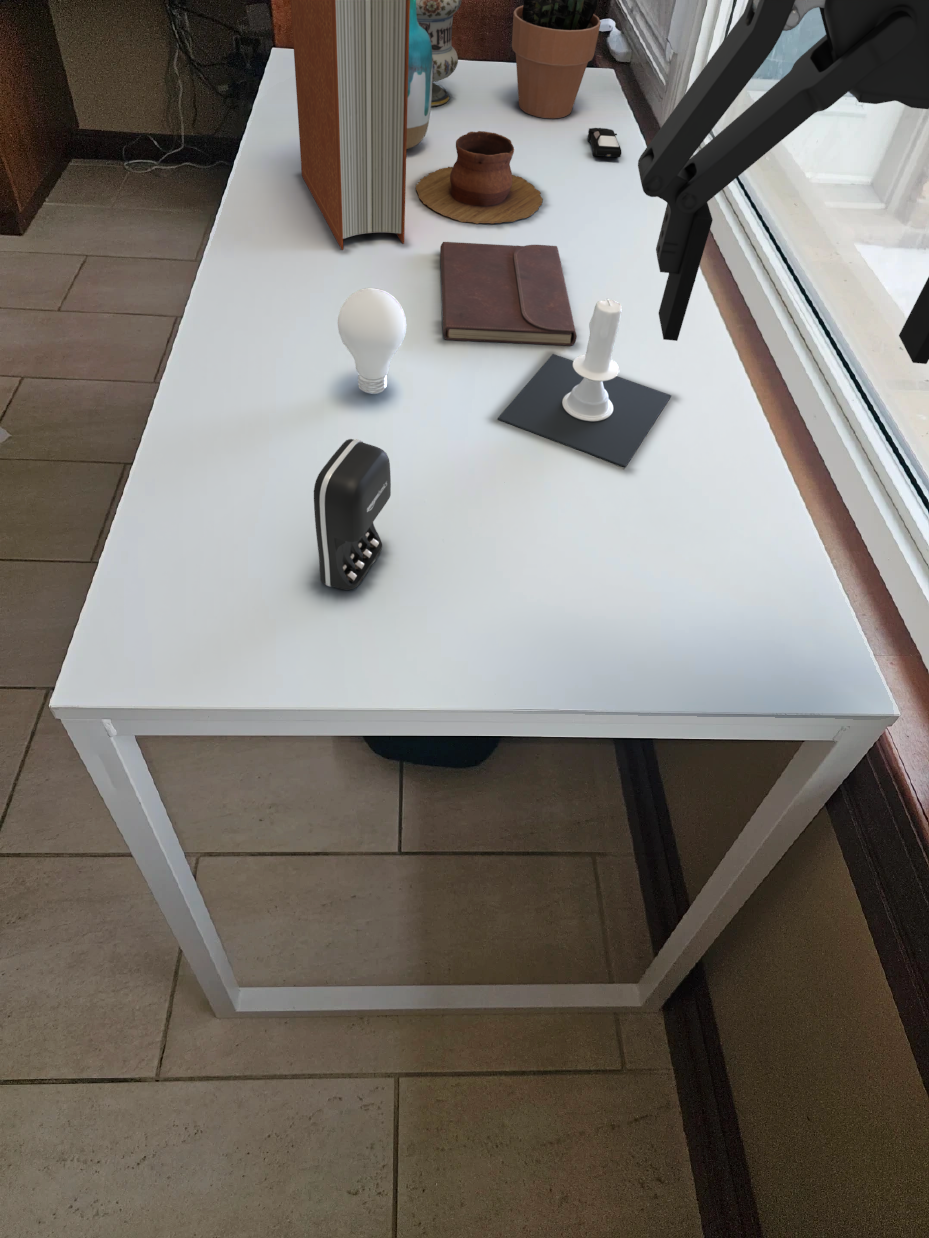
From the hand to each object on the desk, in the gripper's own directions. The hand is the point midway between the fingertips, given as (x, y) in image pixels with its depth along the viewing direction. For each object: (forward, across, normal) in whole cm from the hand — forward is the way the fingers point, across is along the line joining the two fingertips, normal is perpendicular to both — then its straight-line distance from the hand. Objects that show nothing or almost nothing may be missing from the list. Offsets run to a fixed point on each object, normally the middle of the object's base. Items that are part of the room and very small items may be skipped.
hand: (790, 339), depth 48 cm
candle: (+29, +4, -33) cm, 44 cm away
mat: (+29, +4, -33) cm, 44 cm away
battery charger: (+29, +25, -7) cm, 39 cm away
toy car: (+29, -1, -102) cm, 106 cm away
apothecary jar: (+29, +29, -116) cm, 123 cm away
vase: (+29, +31, -95) cm, 104 cm away
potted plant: (+29, +8, -116) cm, 120 cm away
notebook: (+29, +14, -54) cm, 63 cm away
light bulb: (+29, +27, -32) cm, 51 cm away
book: (+29, +35, -74) cm, 86 cm away
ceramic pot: (+29, +17, -81) cm, 88 cm away
